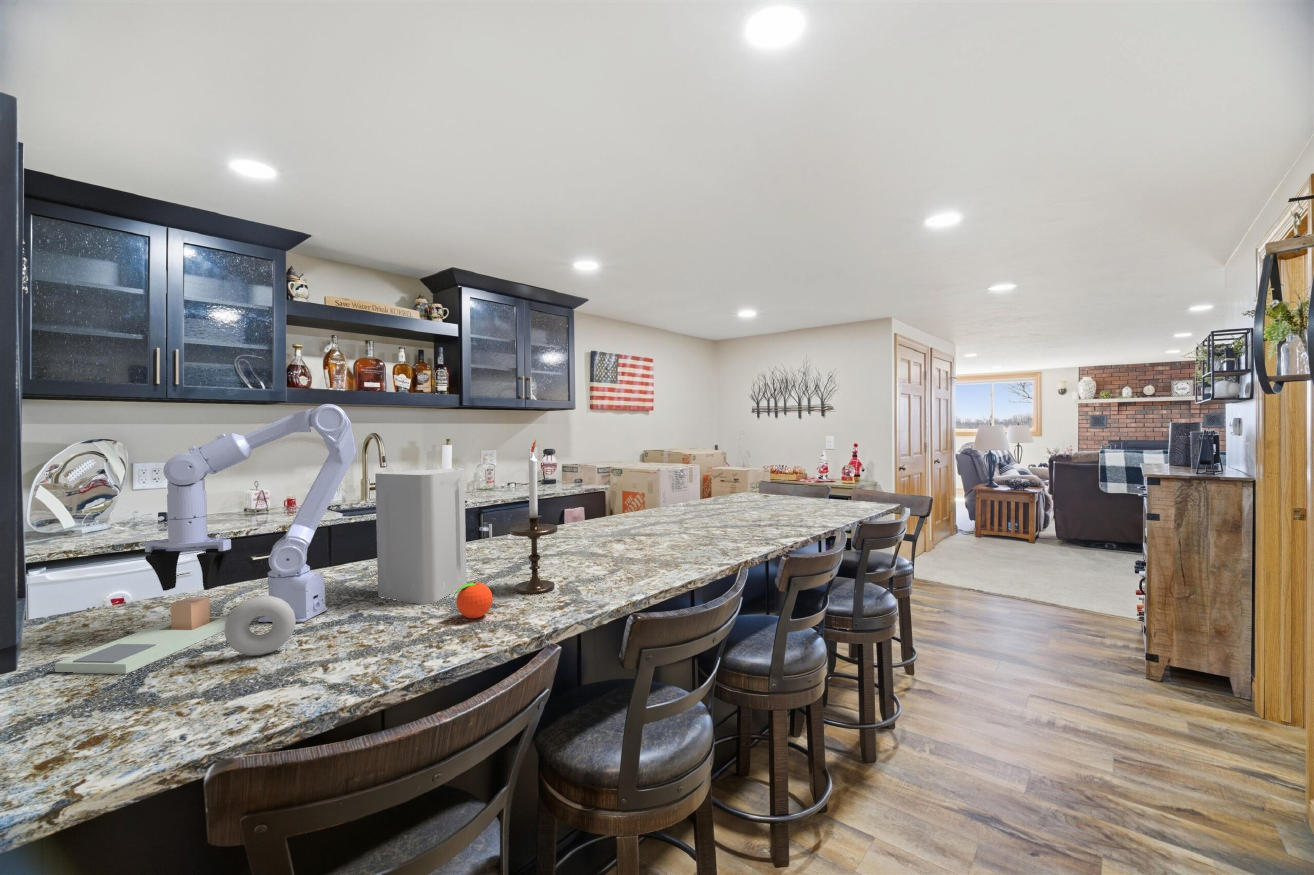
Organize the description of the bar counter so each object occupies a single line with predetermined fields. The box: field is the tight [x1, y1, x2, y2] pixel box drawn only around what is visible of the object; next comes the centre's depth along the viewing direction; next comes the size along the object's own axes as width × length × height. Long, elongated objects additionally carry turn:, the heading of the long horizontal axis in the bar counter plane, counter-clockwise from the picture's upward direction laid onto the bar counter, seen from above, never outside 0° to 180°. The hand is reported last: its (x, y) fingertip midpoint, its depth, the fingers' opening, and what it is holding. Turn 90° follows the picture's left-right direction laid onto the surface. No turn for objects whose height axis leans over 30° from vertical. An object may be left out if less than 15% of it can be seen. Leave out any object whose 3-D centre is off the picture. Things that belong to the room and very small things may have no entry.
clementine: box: [451, 581, 494, 619], centre depth 113 cm, size 8×7×7 cm
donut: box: [223, 595, 297, 657], centre depth 96 cm, size 10×4×10 cm, turn 118°
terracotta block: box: [170, 596, 211, 630], centre depth 107 cm, size 4×4×6 cm
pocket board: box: [54, 616, 229, 675], centre depth 100 cm, size 12×22×2 cm, turn 176°
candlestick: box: [509, 439, 559, 596], centre depth 132 cm, size 11×11×35 cm
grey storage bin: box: [374, 467, 468, 605], centre depth 129 cm, size 19×15×28 cm
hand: (189, 588), depth 107 cm, fingers open, 7 cm apart
